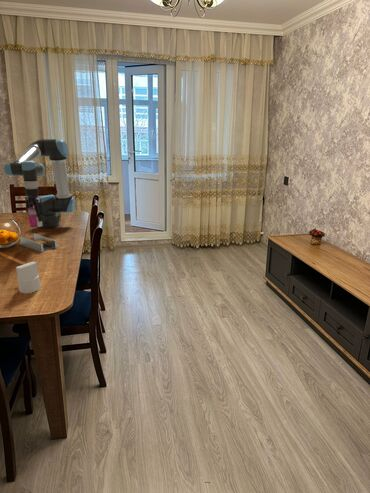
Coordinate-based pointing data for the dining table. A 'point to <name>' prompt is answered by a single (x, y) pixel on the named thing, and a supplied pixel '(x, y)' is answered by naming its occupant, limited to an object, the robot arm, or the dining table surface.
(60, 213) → the food container
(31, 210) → the supplement box
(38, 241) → the orange square tile
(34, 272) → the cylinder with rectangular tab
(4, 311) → the dining table surface
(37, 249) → the mounting rail
